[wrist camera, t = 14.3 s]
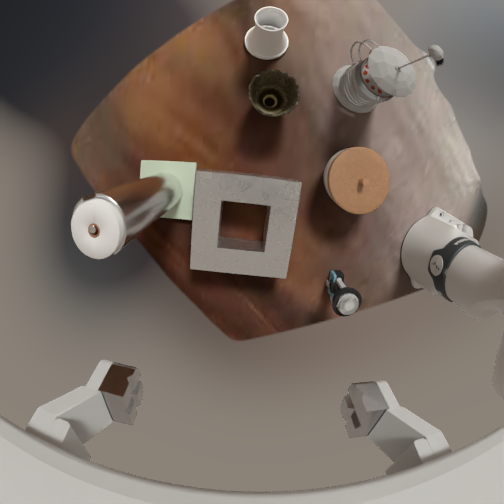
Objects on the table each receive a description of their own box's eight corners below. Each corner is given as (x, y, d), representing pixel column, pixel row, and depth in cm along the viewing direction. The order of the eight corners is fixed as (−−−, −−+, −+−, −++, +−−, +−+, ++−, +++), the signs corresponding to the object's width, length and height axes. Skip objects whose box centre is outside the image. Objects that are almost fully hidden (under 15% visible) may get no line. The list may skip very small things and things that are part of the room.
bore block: (294, 179, 46) (301, 182, 41) (281, 264, 52) (285, 278, 46) (202, 168, 45) (196, 170, 40) (195, 256, 51) (190, 268, 45)
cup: (291, 122, 43) (301, 116, 36) (248, 122, 43) (249, 116, 35) (290, 83, 41) (298, 70, 33) (247, 82, 40) (247, 69, 33)
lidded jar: (315, 146, 45) (331, 144, 36) (370, 149, 45) (395, 149, 36) (316, 205, 48) (331, 217, 39) (369, 205, 48) (393, 216, 39)
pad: (197, 162, 45) (196, 162, 44) (192, 218, 48) (191, 220, 47) (143, 160, 44) (141, 160, 43) (140, 214, 48) (138, 215, 47)
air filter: (186, 177, 45) (128, 204, 21) (177, 213, 47) (117, 271, 23) (152, 168, 44) (69, 187, 21) (143, 203, 46) (63, 251, 23)
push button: (342, 297, 55) (358, 324, 45) (318, 298, 55) (331, 326, 45) (347, 268, 52) (366, 291, 43) (321, 268, 52) (337, 292, 43)
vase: (236, 46, 38) (234, 22, 28) (260, 19, 36) (264, -7, 26) (272, 67, 39) (278, 46, 30) (295, 39, 37) (307, 16, 28)
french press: (347, 120, 43) (431, 99, 19) (318, 64, 39) (377, 1, 16) (388, 105, 42) (480, 86, 18) (361, 52, 38) (436, 0, 14)
